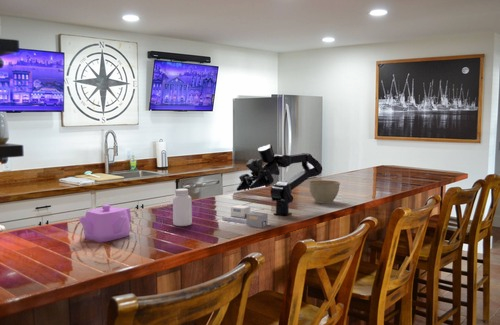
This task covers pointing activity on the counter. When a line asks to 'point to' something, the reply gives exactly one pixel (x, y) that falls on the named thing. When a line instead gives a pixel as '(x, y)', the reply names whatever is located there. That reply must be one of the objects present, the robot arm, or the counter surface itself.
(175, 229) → the counter surface
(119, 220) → the teakettle
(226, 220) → the rail
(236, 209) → the block
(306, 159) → the robot arm
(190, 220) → the pill bottle
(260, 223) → the mounted module
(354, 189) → the counter surface
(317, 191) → the planter bowl
